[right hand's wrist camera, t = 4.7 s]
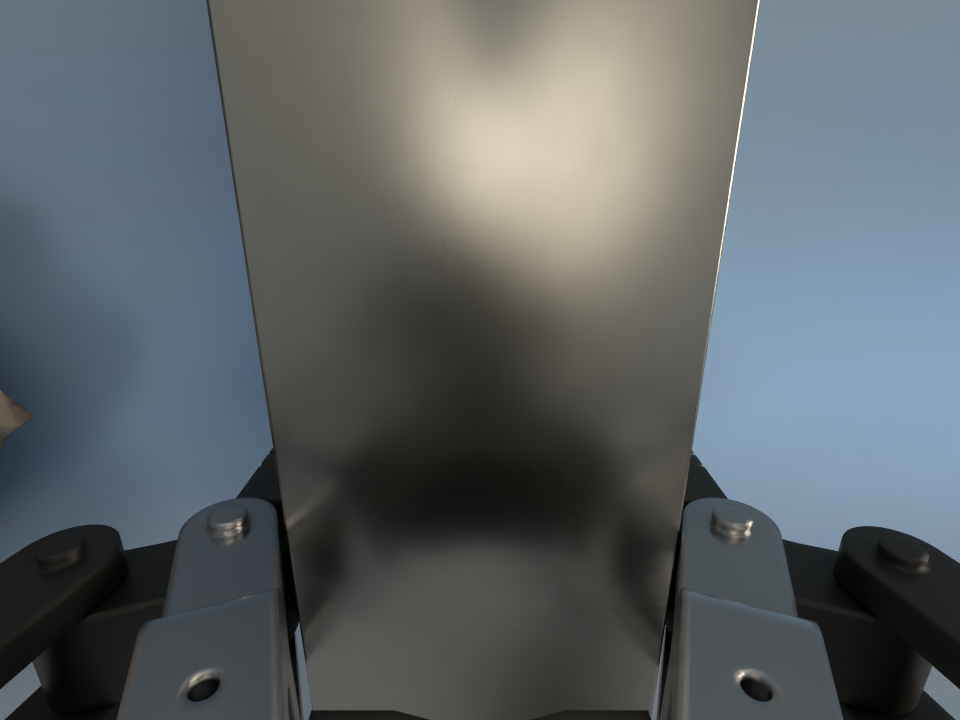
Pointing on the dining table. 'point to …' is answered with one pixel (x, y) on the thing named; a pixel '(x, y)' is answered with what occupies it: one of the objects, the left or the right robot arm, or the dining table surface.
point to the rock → (11, 417)
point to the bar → (482, 328)
